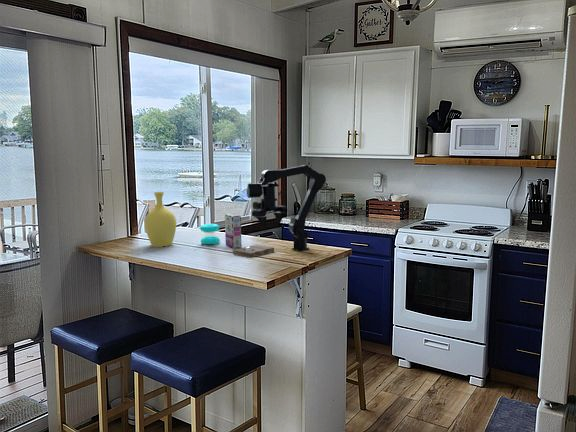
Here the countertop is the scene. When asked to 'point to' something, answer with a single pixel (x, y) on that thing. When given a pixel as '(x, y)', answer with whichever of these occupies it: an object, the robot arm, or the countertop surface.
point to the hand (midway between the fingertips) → (270, 228)
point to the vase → (160, 224)
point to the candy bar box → (233, 230)
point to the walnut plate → (253, 251)
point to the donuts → (210, 238)
